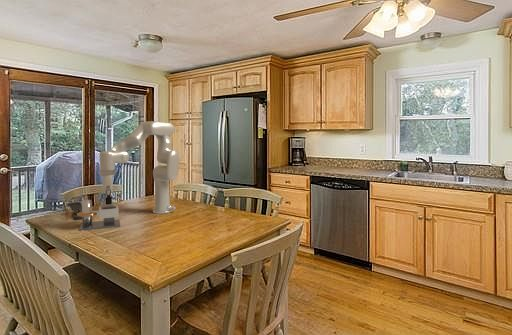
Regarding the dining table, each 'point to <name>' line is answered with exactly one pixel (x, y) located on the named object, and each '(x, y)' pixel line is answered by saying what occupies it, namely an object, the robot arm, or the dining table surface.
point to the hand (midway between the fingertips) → (108, 202)
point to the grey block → (109, 220)
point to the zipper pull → (75, 207)
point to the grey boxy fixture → (102, 213)
